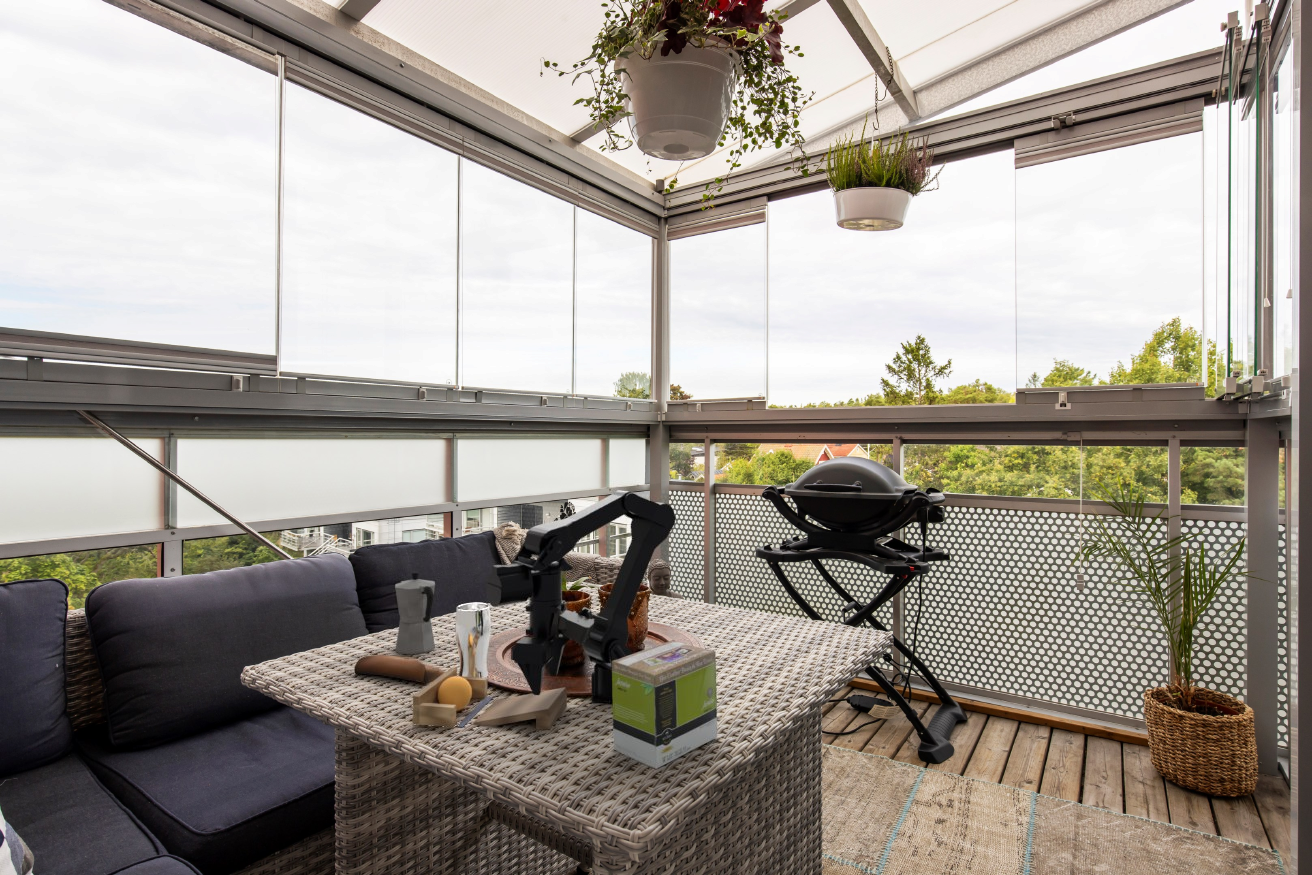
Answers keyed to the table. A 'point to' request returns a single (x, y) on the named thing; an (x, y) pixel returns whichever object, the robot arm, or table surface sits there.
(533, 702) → the ramp
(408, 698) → the table surface
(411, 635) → the coffeepot
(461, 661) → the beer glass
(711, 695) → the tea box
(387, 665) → the sunglasses case
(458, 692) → the ball
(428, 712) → the wooden u-shaped bracket
